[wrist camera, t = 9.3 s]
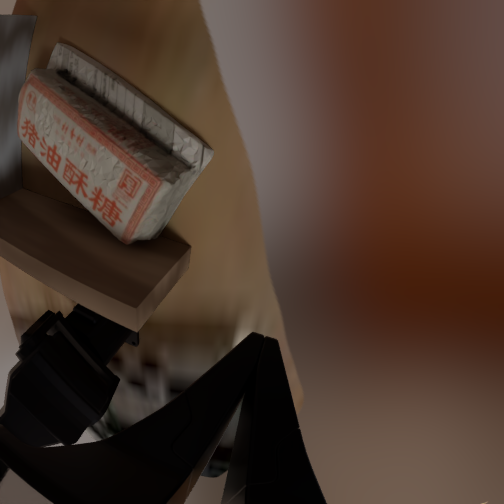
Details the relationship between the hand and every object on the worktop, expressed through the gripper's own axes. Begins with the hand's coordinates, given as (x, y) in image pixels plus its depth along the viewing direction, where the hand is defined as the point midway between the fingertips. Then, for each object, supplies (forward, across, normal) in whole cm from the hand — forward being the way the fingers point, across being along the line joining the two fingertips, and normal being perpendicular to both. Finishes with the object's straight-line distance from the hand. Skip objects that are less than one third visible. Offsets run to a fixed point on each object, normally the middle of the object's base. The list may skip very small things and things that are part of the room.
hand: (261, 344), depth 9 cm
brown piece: (+12, +19, -4) cm, 23 cm away
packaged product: (+13, +16, -2) cm, 21 cm away
